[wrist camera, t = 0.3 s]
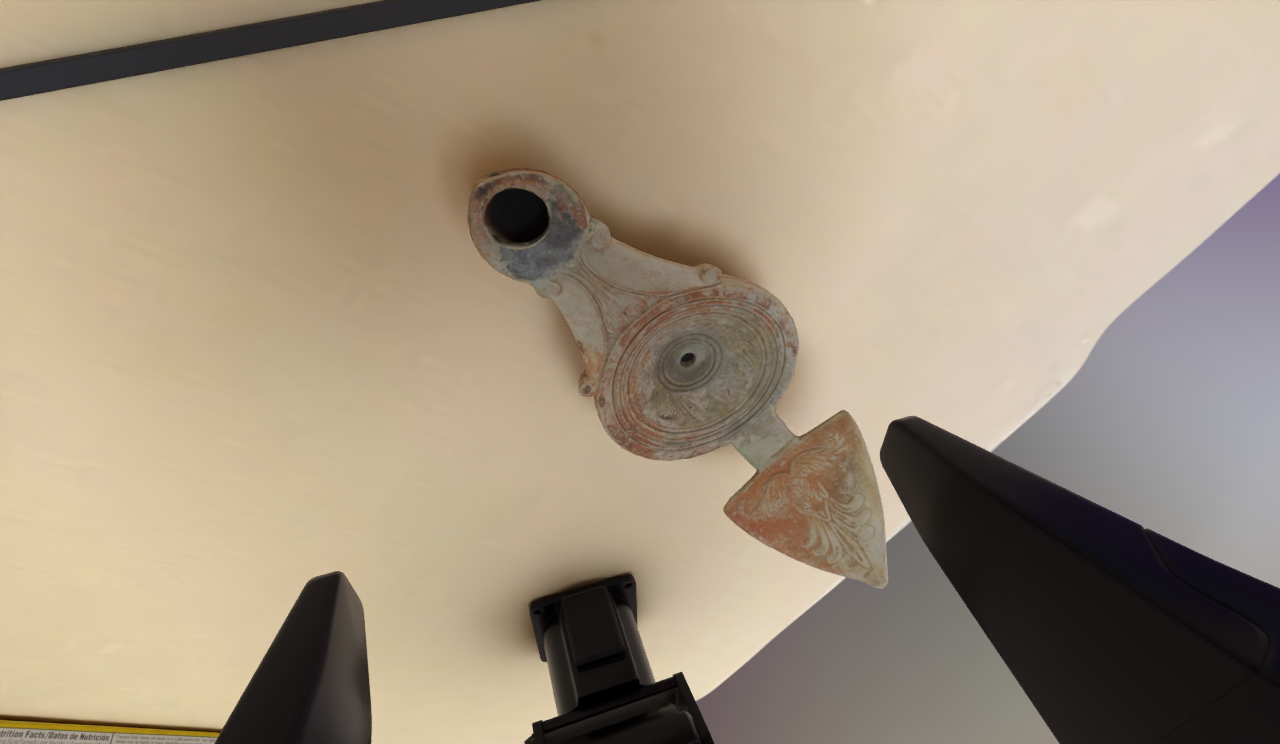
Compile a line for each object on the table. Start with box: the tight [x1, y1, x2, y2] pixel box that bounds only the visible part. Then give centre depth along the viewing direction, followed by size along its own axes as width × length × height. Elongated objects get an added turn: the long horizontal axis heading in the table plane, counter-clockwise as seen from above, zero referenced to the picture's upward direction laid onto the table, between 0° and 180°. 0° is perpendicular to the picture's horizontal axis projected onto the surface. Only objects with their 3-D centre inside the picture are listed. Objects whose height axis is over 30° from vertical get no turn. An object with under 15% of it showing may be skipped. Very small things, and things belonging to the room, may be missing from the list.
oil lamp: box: [468, 169, 888, 588], centre depth 23 cm, size 9×21×10 cm, turn 39°
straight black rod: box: [0, 0, 540, 101], centre depth 16 cm, size 25×1×1 cm, turn 97°
